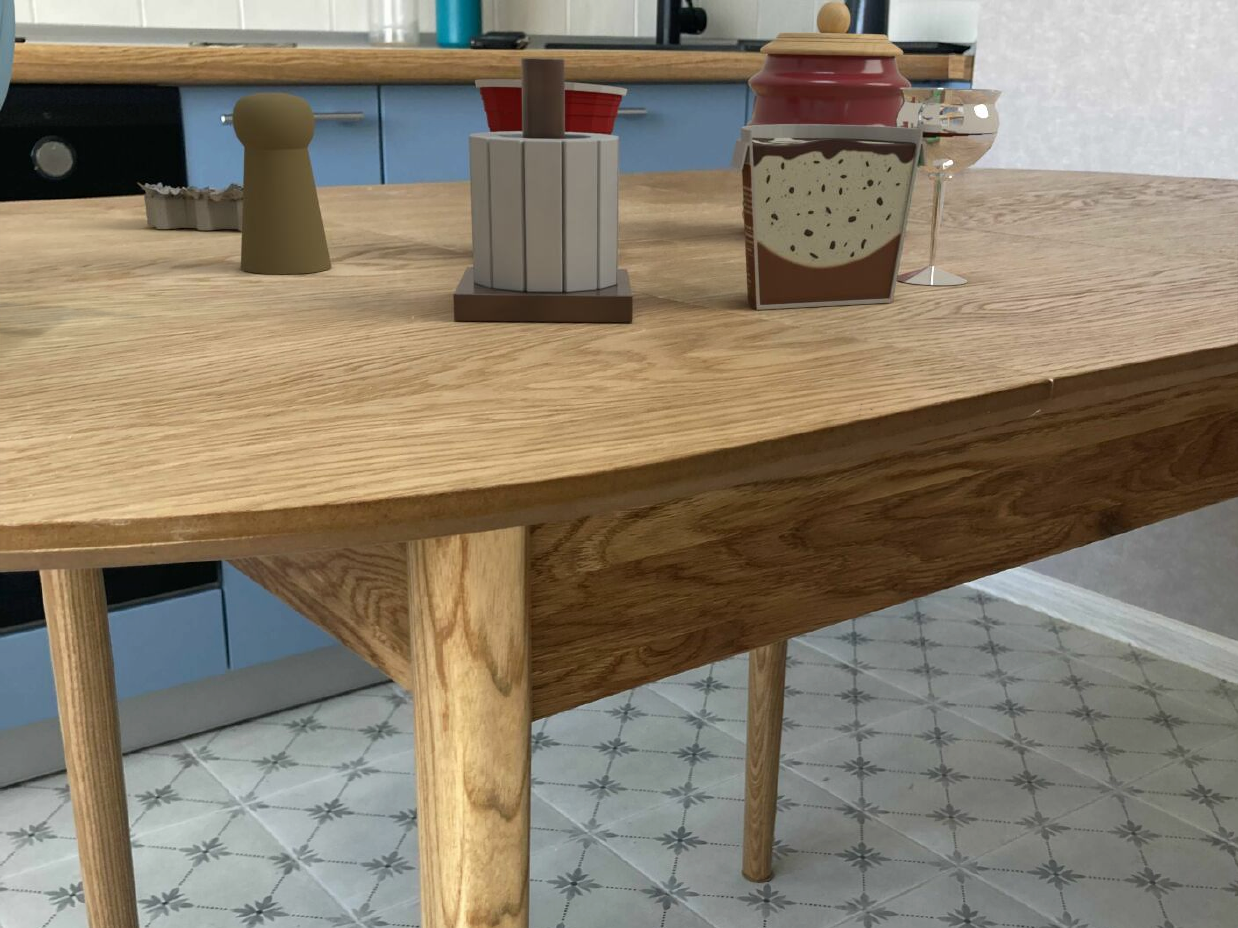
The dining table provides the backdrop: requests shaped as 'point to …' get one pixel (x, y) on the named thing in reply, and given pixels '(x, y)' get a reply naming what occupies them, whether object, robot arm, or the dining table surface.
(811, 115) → the kitchen canister
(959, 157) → the wineglass
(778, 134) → the food container
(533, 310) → the stand
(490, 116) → the plastic cup
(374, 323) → the dining table surface
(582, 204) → the plant pot
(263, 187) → the cork
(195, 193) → the egg carton
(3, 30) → the robot arm
